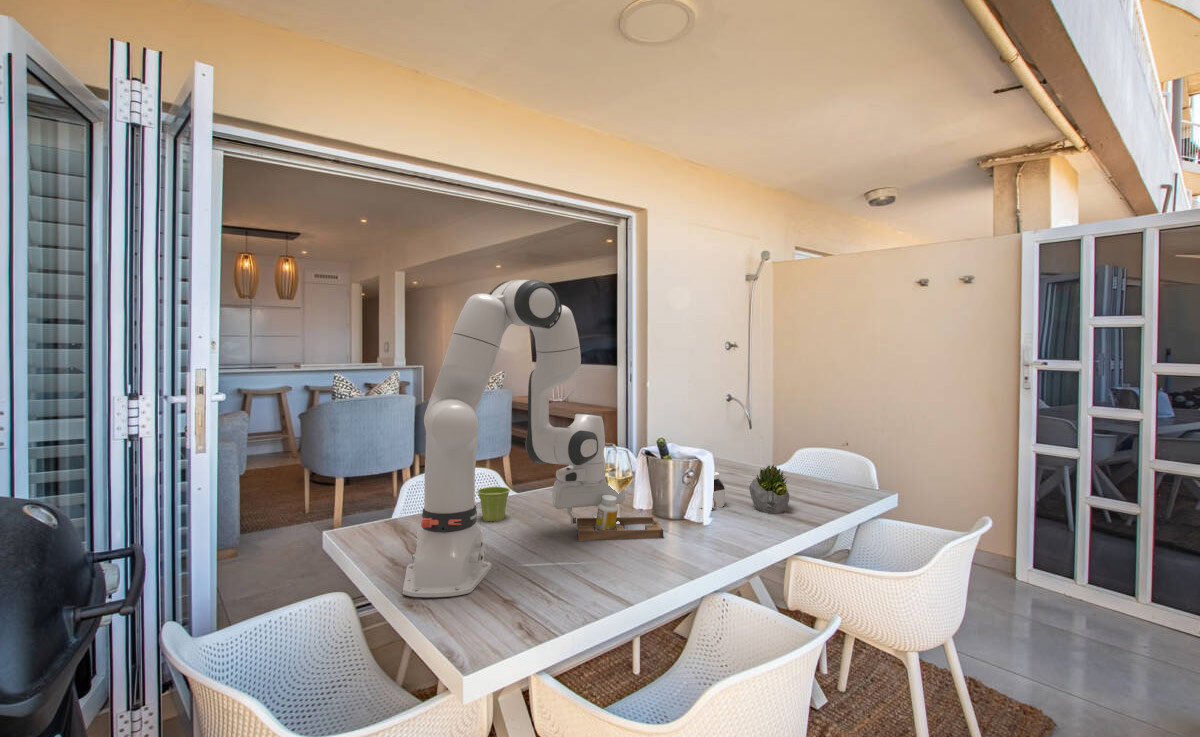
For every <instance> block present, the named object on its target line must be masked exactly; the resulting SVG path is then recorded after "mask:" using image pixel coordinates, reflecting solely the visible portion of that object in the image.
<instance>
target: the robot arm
mask: <svg viewBox="0 0 1200 737" xmlns="http://www.w3.org/2000/svg"><path fill="white" fill-rule="evenodd" d="M511 325H515V326H518V327H528V328H529V329H530V330H531V331H532V334H533V336H534V340H535V341H534V342H535V352H536V359H535V360H536V362H535V367H534V369H533V370H532V371H531V372H530V373H529V374H530V375H529V377H528V387H527V388H528V390H527V391H528V393H527V432H526V437H525V442H524V443H525V444H524V445H525V451H526V453H527V455H528V457H529V459H530V460H531V461H532V462H534V463H536V464H553V465H554V464H555V465H561V466H562V465H563V466H566V467H563V468H560V469H557V470H556V471H555V477H556V478H557V479H556V480H555V481H554V483H553V486H552V492H551V493H552V494H551V504H552V506H553V507H554V508H555V509H557V510H565V512H566V513H567V516H568V517H569V524H570V525H574V524H576V525H577V517H576V515H572V512H573V509H574V508H589V507H598V505H599V504H600V503H602V502H601V499H602V496H603V495H612V496H615V497H616V504H615V505H620V504H624V502H625V501H626V492H625V488H624V489H623V490H622V491H621V492H620V493H619V494H618V493H617V492H616V491H615V490H613V489H612V488H611V487H610V486H608V483H607V482H606V479H605V471H606V458H605V454H604V451H605V446H606V434H605V432H606V431H605V424H604V421H603V416H601V415H600V414H596V413H589V412H578V413H576V414H575V415H574V420H573V422H572V423H571V424H570V425H569V426H567V427H559V426H557V427H556V426H553V425H552V424H551V423H550V418H549V417H550V395H551V392H552V391H553V389H555V388H556V387H557V386H561V385H562V384H565V383H567V382H569V381H570V380H571V379H572V378H574V377H575V376H576V375H577V373H578V372H579V370H580V368H581V364H582V363H581V362H582V354H581V347H580V346H581V345H580V338H579V334H578V333H579V332H578V329H577V324H576V321H575V317H574V315H573V312H572V310H571V309H570V308H569V307H568V306H566V305H564V304H562V303H561V302H560V299H559V297H558V294H557V292H556V291H555V289H554V288H553V287H552V286H551V285H550V284H549V283H547V282H545V281H543V280H538V279H523V278H519V279H513V280H507V281H503V282H501V283H500V284H498V285H496V286H495V287H494V288H493V289H492V290H491V291H490V292H489V293H476V294H475V293H474V294H473V295H471V296H469V298H468V299H467V300H466V303H464V306H463V308H462V309H461V312H460V313H459V316H458V318H457V319H456V322H455V325H454V328H453V330H452V334H451V337H450V340H449V343H448V346H447V349H446V352H445V356H444V359H443V361H442V362H443V363H442V365H441V368H440V370H439V373H438V376H437V378H436V380H435V384H434V387H433V390H432V392H431V396H430V398H429V401H428V403H427V407H426V409H425V411H424V412H425V413H424V416H423V423H424V424H423V425H424V429H425V455H424V457H425V458H424V487H423V488H424V497H423V498H424V499H423V500H424V503H423V504H424V506H423V508H422V513H421V519H420V520H421V522H420V523H421V525H420V526H421V528H420V530H419V531H417V532H416V550H415V553H413V554H412V555H411V559H412V561H414V562H413V563H409V564H408V565H406V570H405V575H404V579H403V581H404V582H403V586H402V595H404V596H408V597H415V598H416V597H417V598H444V597H445V598H447V597H457V596H461V595H462V596H463V595H466V594H467V595H468V594H470V593H472V592H473V591H474V590H475V588H477V586H478V585H479V584H480V583H481V581H482V580H483V579H484V578H485V577H486V576H487V574H488V573H489V571H490V570H491V569H492V563H491V562H489V561H486V560H485V552H484V550H485V549H484V531H483V530H482V529H481V528H479V526H478V525H477V520H478V518H477V517H478V511H477V506H476V505H475V503H476V501H475V500H476V499H475V498H476V497H475V496H476V490H475V488H476V486H475V485H476V463H477V454H478V439H479V419H478V414H477V410H478V407H479V404H480V402H481V400H482V397H483V394H484V392H485V390H486V388H487V385H488V383H489V382H490V379H491V376H492V372H493V370H494V366H495V363H496V360H497V357H498V354H499V350H500V347H501V343H502V339H503V336H504V334H505V332H506V330H507V329H508V328H509V326H511Z"/></svg>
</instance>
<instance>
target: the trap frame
mask: <svg viewBox="0 0 1200 737" xmlns="http://www.w3.org/2000/svg"><path fill="white" fill-rule="evenodd" d="M596 519H597V517H576V527H577V536H578V542H589V541H590V542H593V541H616V540H617V541H620V540H623V541H624V540H646V539H647V540H649V539H664V529H663V527H662V526H661V524H660V523H659V521H658V520H657V519H656V517H655V516H631V517H630V516H627V517H626V516H624V517H622V516H620V517H618V516H617V518H616V522H617V521H619V522H620V524H622V525H615V530H595V528H594V526H596ZM624 525H644V529H625V527H624Z"/></svg>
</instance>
